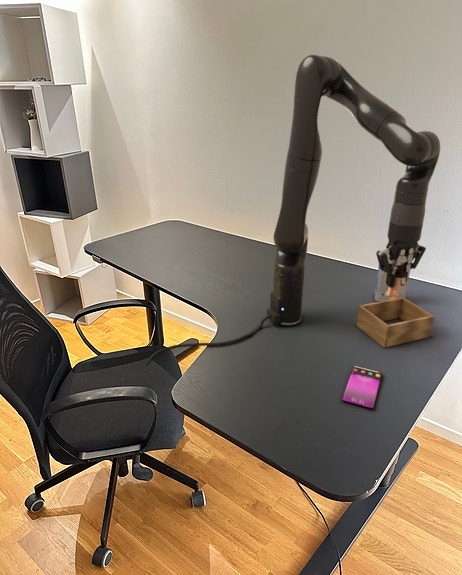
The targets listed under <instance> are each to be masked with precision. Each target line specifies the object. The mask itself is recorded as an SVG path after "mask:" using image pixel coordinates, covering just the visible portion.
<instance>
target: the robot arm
mask: <svg viewBox="0 0 462 575" xmlns="http://www.w3.org/2000/svg"><path fill="white" fill-rule="evenodd" d="M293 90H294V92H293V108H292V119H291V126H290V133H289V140H288V141H289V142H288V148H287V152H286V158H285V165H284V172H283V173H284V174H283V183H282V191H281V192H282V195H281V205H280V209H279V214H278V218H277V222H276V225H275V229H274V232H273V242H274V245H275V248H276V252H275V259H274V262H273V286H272V287H273V289H272V290H271V291H270V297H269V298H270V301H269V307H267V308H266V316H265V317H264V318H262V319H261V321H260V323H259V325H258V326H257V328H256V329H254V330H253V331H251V332H249V333H247V334H244V335H243V336H240V337H237V338H235V339H231V340H226V341H220V342H194V343H181V344H180V343H179V344H174V345H170V346H167V347H164V348H161V349H158V350H157V351H155V352H154V353H152V354H151V355H150V356H149V358H148V359H147V360H146V362H145V363H144V367H148V366H149V365H150V363H151V362H152V360H153V359H154V358H155V357H156V356H158V355H159V354H161V353H164V352H167V351H169V350H172V349H173V350H174V349H177V348H188V347H189V348H190V347H200V346H201V347H203V346H204V347H205V346H206V347H215V346H218V347H219V346H225V345H229V344H234V343H237V342H240V341H242V340H244V339H246V338H249V337H251V336H253V335H255V334H256V333H258V331H260V330H261V328H263V325H264V323H265V322H266V321H267V320H268V319H269V320H270V321H271V322H272V323H273V324H275V325H276V326H277V327H281V326H282V327H294V326H297V325H299V324H300V323H301V322H302V310H303V299H304V298H303V296H304V283H305V271H306V270H305V269H306V268H305V267H306V263H307V253H308V243H309V227H308V225H307V223H306V221H307V214H308V208H309V205H310V202H311V199H312V196H313V193H314V190H315V187H316V184H317V180H318V177H319V172H320V169H321V168H320V167H321V163H322V162H321V161H322V157H323V156H322V155H323V145H322V139H321V134H320V129H319V122H318V121H319V120H318V119H319V111H320V106H321V102H322V101H321V100H322V98H325V97H326V98H328V99H329V100H332V101H334V102H336V103H338V104H340V105H341V106H343V107H344V108H345V109H346V110H347V111H348V112H349V113H350V114H351V116H352V117H353V119H354V120H355V121H356V123H357V124H358V125H359V126H360V127H361V128H362V129H363V130H365V131H366V132H367V133H368V134H370V135H372V136H373V138H375V139H377V140H378V141H379V142H380V143H382V144H383V146H384V148H386V150H387V151H388V152H389V153H390V155H391V156H392V157H394V159H395V160H396V161H397V162H398V163H400V164H402V165H404V166H405V169H404V171H403V173H402V175H401V176H399V177H398V179H397V181H396V184H395V191H394V196H393V203H392V206H391V210H390V215H389V223H388V228H387V239H388V241H387V244H386V247H385V248H384V249H383V250H377V251H376V252H375V254H376V257H377V261H378V266H379V265H380V269H381V270H382V271H384V272H386V273H387V277H386V284H387V286H389V287H390V288H393V287H394V286H395V280H396V272H397V269H398V266H400V264H401V261H402V257H403V256H406V257H407V260H408V261H407V262H405V263H403V265H402V266H403V269H404V272H405V275H406V281H405V282H407V277H408V272H409V271H410V272H411V270H415V269H416V268H417V267H418V265H419V263H420V261H421V259H422V258H423V255H424V254H425V252H426V250H427V248H426V247H425V246H423V245H420V244H419V241H420V240H421V237H422V231H423V225H424V221H425V216H426V204H427V197H428V193H429V185H430V181H431V179H432V177H433V175H434V172H435V169H436V166H437V164H438V161H439V158H440V154H441V141H440V138H439V137H438V135H437V134H436V133H434V132H432V131H430V130H423V131H418V132H417V131H415V130H414V129H412V128H411V127H410V126H408V125H407V121H406V118H405V117H404V116H403V115H402V114H401V113H400V112H398V111H397V110H396V109H394V108H393V107H391V106H390V105H389V104H387V103H386V102H385V101H383V100H381V99H380V98H379V97H377V96H376V95H375V94H373V93H371V91H369V90H368V89H366V88H365V87H364V86H362V84H360V83H359V82H358V81H357V80H356V79H355V78H354V77H353V76H352V75H351V74H350V73H349V72H348V70H347V69H346V68H345V67H344V66H343V65H342V64H341V63H340V62H339V61H338V60H336V59H335V58H334V57H332V56H326V55H320V54H309V55H307V56H305V57H304V58H303V59H302V60H301V61H300V63H299V64H298V67H297V70H296V74H295V78H294V89H293ZM394 260H395V261H396V262H395V261H394ZM392 265H393V268H392ZM401 282H402V281H401ZM401 286H403V285H402V284H401Z"/></svg>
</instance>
